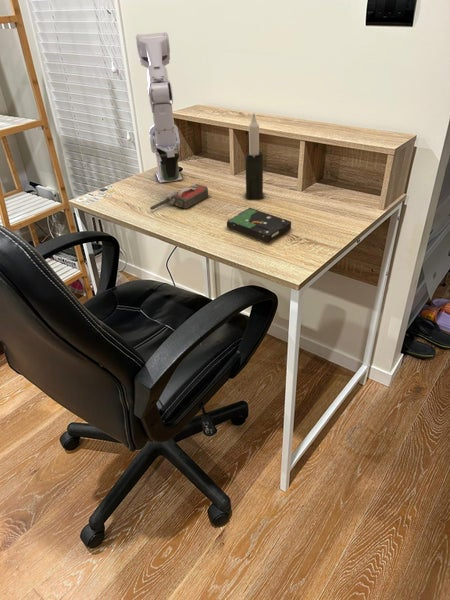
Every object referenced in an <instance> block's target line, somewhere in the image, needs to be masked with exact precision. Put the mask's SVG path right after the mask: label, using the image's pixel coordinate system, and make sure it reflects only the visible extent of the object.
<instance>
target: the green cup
mask: <svg viewBox="0 0 450 600" xmlns="http://www.w3.org/2000/svg"><path fill="white" fill-rule="evenodd" d="M178 167H179V160H178V161H177V165H176V174H175V177H170V178H168V175H167V173H166V169H165V166H164V163H163V161H161V162H160V170H161V177H162V178H163V180H165V181H170V182H174V181H173V180H176V179H178V178H179V173H180V169H178Z"/></svg>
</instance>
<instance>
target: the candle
mask: <svg viewBox="0 0 450 600" xmlns="http://www.w3.org/2000/svg"><path fill="white" fill-rule="evenodd" d="M251 115H252V117H251V121H250V122H249V125H248V145H249V146H248V149H249V150H248V152H247V153H246V154H245V157H244V158H245V198H246V199H247V200H262V199H263V196H264V154H263V153H262V152H261V151H260V125H259V123H258V121H257V118H256V113H255V112H253V113H252V114H251Z"/></svg>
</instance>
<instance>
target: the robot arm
mask: <svg viewBox="0 0 450 600" xmlns="http://www.w3.org/2000/svg"><path fill="white" fill-rule="evenodd" d="M135 42H136V49H137V55H138V58H139V62H140V65H141V67H144V68H146V69H147V71H146V73H147V74H146V75H147V82H148V85H147V92H148V100H149V101H148V102H149V105H150V108H151V113H152V120H153V125H152V126H151V127H149V130H148V133H149V141H150V142H149V143H150V149H151V152H152V153H153V154H155V156H156V166H157V172H155V175H156V177H157V179H158V182H159V183H160V184H163V183H169V182H171V181H165V180H163V178H162V177H161V170H160V162H161V161H163V163H164V166H165V169H166V173H167V175H168V178H170V177H175V174H176V165H177V161H178V162H179V159H180V154H179V153H178V152H179V151H180V150H181V140H180V133H179V128H178V126H177V125H176V124H175V121H174V111H173V104H174V103H173V102H174V96H173V94H174V93H173V87H172V84H171V81H170V79H169V75H168V70H167V67H166V66H167V65H168V64H170V60H171V55H170V54H171V48H170V39H169V34H168V33H167V31H164V32H156V33H155V32H154V33H141V34H140V33H137V34H136V35H135ZM178 169H179V166H178ZM179 170H180V169H179ZM182 180H183V177H182V175H181V173H180V172H179V178H178V179H176V180H173V181H172V182H176V181H182Z"/></svg>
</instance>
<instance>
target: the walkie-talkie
mask: <svg viewBox="0 0 450 600" xmlns="http://www.w3.org/2000/svg"><path fill="white" fill-rule="evenodd" d="M207 198H209V187H207V186H205V185H202V184H198V183H196V184H191V186H189V187H188V186H185V187H183V188H181V189H179V190H177V191H174V192H172V193H170V194H167V195H165V199H164V200H162V201H159V202H157V203H155V204H153V205H152V206H149V209H150V210H151V211H153V210H155V209H157V208H159V207H161V206H162V205H164V204H168V203H170V205H172V206H175V207H177V208H182V209H189V208H190V207H192V206H194V205H196V204H198V203H200V202H201V201H203V200H205V199H207Z"/></svg>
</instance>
